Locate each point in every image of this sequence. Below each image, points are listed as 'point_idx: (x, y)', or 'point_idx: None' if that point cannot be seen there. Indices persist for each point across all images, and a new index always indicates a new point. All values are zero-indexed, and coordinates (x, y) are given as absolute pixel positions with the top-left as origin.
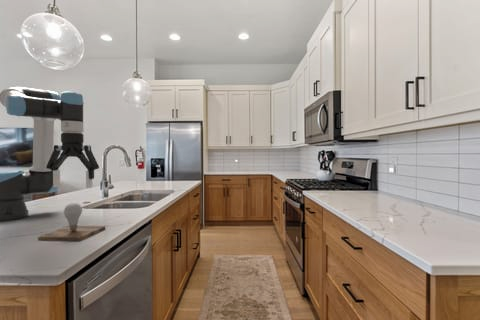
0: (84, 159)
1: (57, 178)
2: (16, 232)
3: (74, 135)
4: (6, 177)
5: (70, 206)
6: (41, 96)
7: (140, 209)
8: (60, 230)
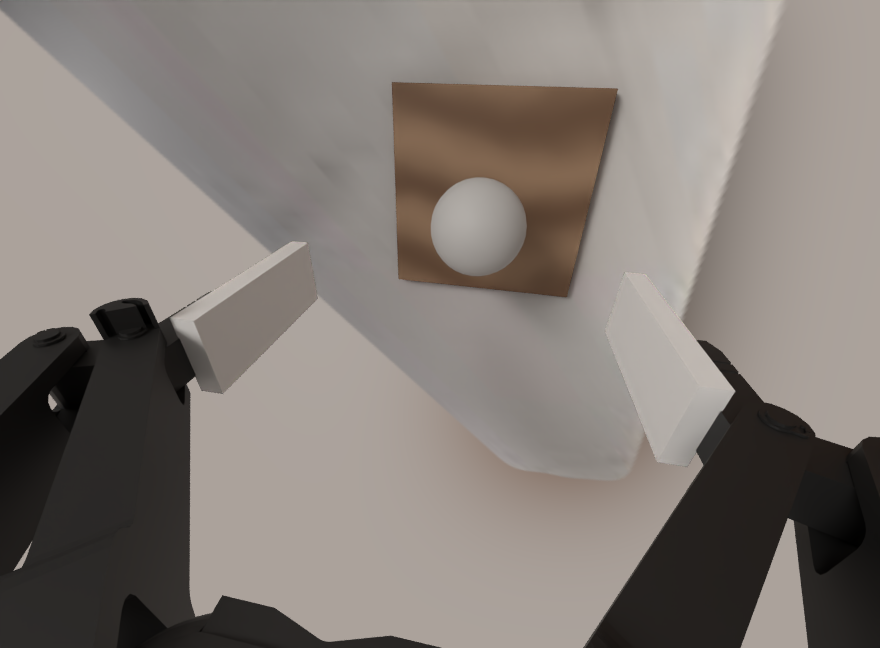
0: None
1: (270, 307)
2: (228, 174)
3: None
4: None
5: (479, 271)
6: None
7: None
8: (418, 190)
